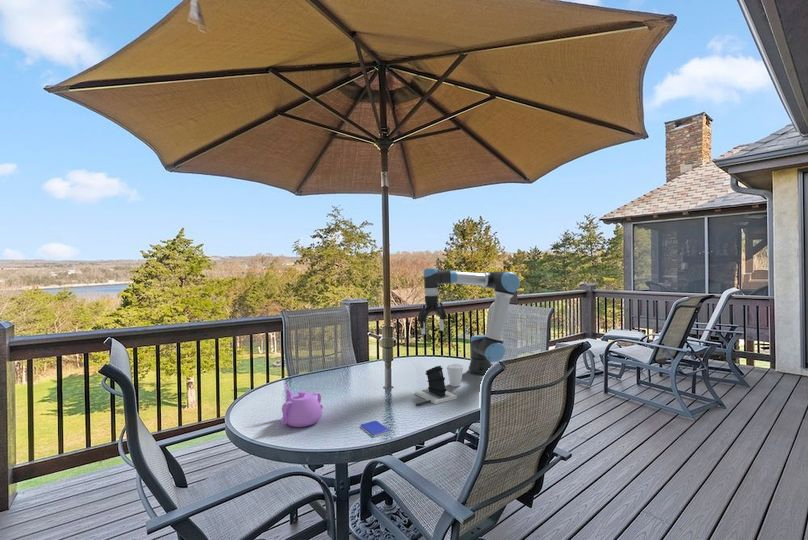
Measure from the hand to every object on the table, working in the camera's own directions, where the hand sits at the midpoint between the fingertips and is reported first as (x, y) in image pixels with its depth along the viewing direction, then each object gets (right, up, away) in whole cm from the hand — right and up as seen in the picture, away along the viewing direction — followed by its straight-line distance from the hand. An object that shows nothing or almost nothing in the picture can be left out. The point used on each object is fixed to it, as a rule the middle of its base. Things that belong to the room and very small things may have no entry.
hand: (432, 332), depth 225 cm
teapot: (-64, -33, -46) cm, 85 cm away
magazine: (0, -29, -18) cm, 34 cm away
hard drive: (-29, -33, -57) cm, 72 cm away
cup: (+13, -30, -1) cm, 33 cm away
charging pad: (-4, -31, -20) cm, 37 cm away
